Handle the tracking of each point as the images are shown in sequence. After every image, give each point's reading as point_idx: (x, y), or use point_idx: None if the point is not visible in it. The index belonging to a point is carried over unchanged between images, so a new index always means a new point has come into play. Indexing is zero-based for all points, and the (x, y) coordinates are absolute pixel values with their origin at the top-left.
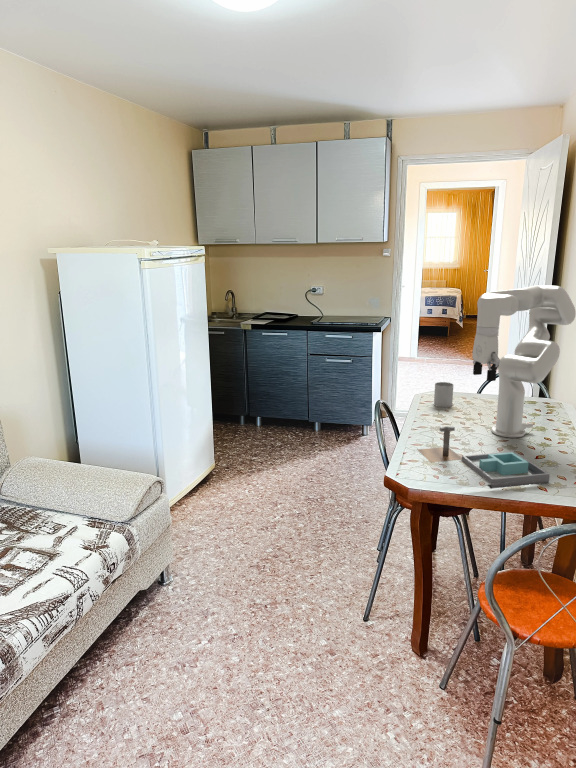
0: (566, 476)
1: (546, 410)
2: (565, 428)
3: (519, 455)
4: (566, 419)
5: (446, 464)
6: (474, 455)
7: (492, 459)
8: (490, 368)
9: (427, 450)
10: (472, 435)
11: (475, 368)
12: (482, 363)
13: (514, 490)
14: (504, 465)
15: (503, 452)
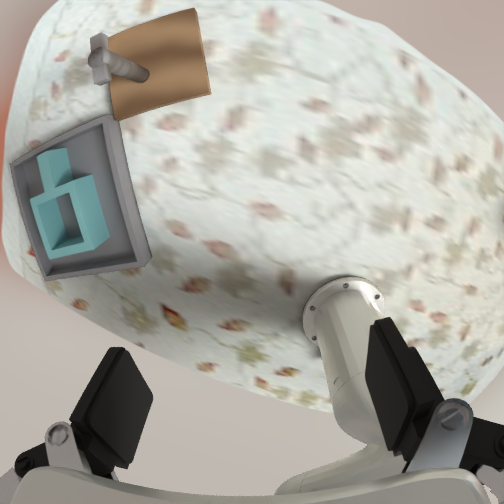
0: (86, 315)
1: None
2: None
3: (119, 267)
4: None
5: None
6: (108, 149)
7: (48, 182)
8: (46, 437)
9: (183, 31)
10: (341, 213)
11: (392, 377)
12: (96, 476)
13: None
14: (31, 202)
15: (132, 235)
